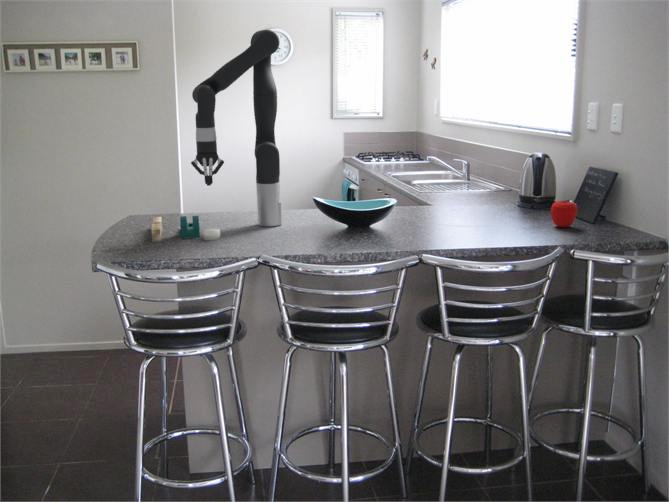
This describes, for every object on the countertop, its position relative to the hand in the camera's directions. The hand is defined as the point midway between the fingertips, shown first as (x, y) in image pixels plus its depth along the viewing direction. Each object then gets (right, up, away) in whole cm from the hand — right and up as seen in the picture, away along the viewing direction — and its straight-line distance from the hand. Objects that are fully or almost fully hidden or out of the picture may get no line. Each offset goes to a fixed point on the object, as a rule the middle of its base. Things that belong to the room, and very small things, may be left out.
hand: (208, 185), depth 256 cm
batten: (-20, -19, 0) cm, 27 cm away
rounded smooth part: (+2, -21, -7) cm, 22 cm away
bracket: (-8, -18, +3) cm, 20 cm away
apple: (+137, -16, +4) cm, 138 cm away
